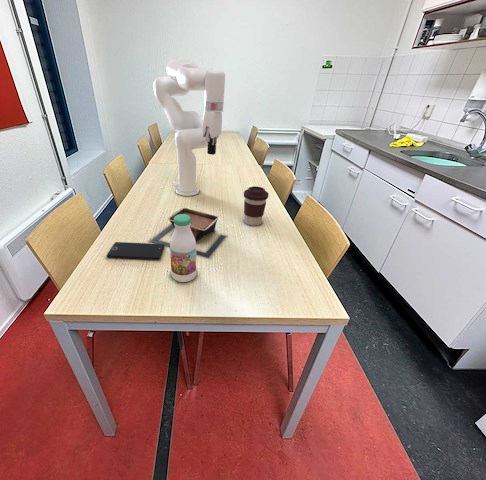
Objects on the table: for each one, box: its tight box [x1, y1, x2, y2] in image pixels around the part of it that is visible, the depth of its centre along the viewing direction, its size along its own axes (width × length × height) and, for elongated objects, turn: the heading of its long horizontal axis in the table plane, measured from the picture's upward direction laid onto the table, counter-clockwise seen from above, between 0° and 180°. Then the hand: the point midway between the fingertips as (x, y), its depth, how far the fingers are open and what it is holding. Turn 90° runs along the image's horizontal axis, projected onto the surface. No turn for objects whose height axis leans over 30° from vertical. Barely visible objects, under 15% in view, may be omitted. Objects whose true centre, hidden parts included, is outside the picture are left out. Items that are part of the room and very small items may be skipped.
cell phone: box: [106, 241, 165, 261], centre depth 94 cm, size 9×18×1 cm, turn 87°
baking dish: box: [168, 207, 219, 243], centre depth 105 cm, size 14×18×10 cm
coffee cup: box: [243, 185, 270, 227], centre depth 113 cm, size 10×10×15 cm
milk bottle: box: [169, 214, 197, 283], centre depth 79 cm, size 8×8×20 cm
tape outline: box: [149, 223, 226, 258], centre depth 103 cm, size 24×16×1 cm
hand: (211, 153), depth 116 cm, fingers closed
